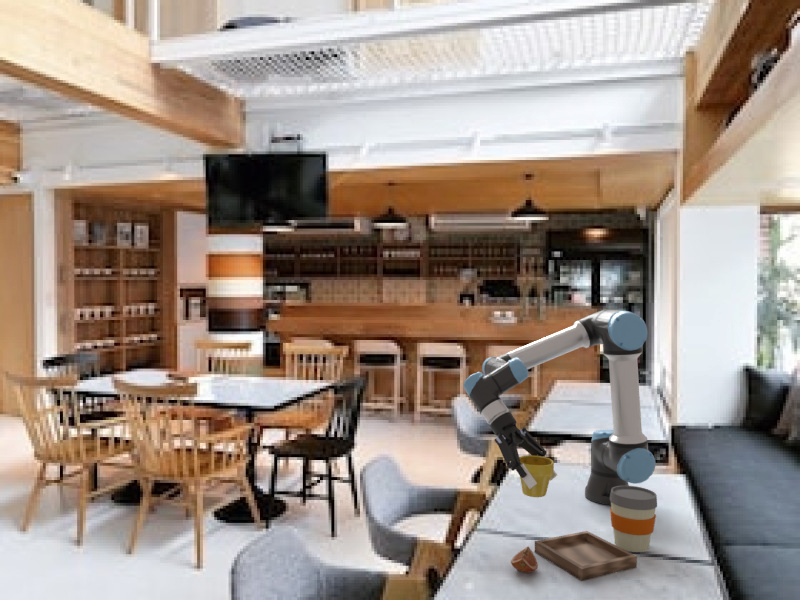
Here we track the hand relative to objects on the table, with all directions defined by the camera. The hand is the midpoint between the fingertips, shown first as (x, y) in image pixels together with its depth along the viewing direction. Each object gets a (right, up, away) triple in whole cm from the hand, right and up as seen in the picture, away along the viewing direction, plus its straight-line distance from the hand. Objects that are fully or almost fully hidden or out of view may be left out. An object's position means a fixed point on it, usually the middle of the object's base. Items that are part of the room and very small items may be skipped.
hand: (543, 482), depth 187 cm
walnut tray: (+8, -17, -14) cm, 23 cm away
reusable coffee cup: (+24, -17, -3) cm, 29 cm away
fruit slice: (-10, -17, -21) cm, 29 cm away
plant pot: (-2, -4, +2) cm, 5 cm away
